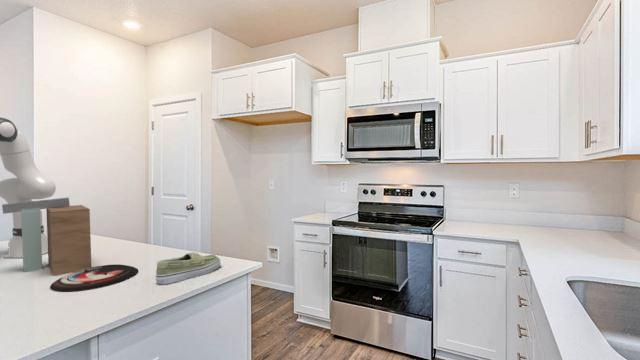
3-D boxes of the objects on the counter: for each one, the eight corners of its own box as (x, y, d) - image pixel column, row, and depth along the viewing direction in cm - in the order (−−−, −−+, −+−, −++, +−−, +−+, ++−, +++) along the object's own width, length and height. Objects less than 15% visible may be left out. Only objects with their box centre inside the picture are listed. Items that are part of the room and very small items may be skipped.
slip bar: (4, 212, 140) (3, 204, 140) (69, 205, 153) (68, 197, 153) (3, 213, 137) (2, 205, 137) (69, 205, 151) (68, 197, 150)
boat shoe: (227, 267, 145) (226, 247, 145) (167, 288, 120) (167, 264, 120) (210, 264, 150) (210, 244, 150) (150, 283, 125) (149, 260, 125)
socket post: (23, 268, 146) (20, 207, 145) (41, 265, 150) (38, 206, 149) (23, 272, 140) (21, 209, 139) (42, 269, 144) (40, 208, 143)
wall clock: (83, 303, 113) (154, 271, 141) (82, 290, 113) (153, 260, 141) (32, 293, 122) (108, 265, 150) (30, 281, 122) (107, 255, 150)
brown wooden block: (48, 264, 151) (46, 207, 150) (83, 259, 160) (81, 205, 159) (53, 275, 135) (50, 211, 134) (91, 268, 144) (89, 208, 143)
